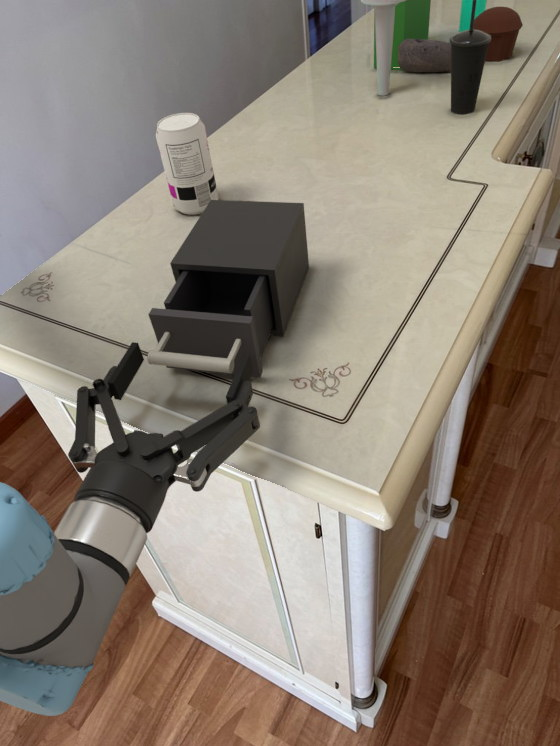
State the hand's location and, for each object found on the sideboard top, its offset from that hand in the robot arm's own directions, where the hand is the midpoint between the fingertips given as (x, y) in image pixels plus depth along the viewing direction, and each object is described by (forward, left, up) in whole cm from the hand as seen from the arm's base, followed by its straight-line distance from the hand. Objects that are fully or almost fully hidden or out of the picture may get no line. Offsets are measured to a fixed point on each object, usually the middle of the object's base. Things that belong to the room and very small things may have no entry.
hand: (192, 356), depth 67 cm
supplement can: (-44, +19, -7) cm, 49 cm away
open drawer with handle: (-6, +6, -6) cm, 10 cm away
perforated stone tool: (-64, +90, -7) cm, 111 cm away
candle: (-74, +112, -7) cm, 135 cm away
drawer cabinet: (-14, +14, -7) cm, 21 cm away
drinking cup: (-42, +80, -7) cm, 91 cm away
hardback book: (-77, +92, -7) cm, 121 cm away
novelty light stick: (-61, +74, -7) cm, 97 cm away
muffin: (-61, +107, -7) cm, 124 cm away
